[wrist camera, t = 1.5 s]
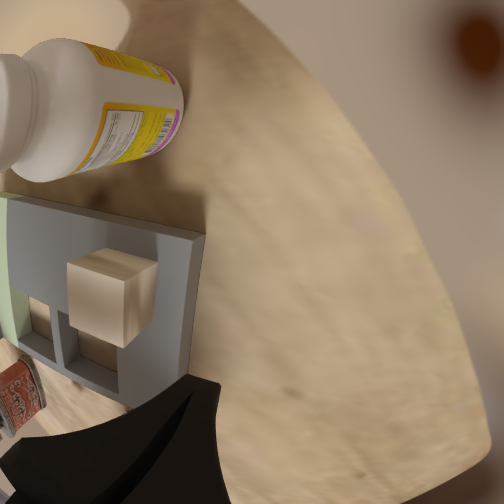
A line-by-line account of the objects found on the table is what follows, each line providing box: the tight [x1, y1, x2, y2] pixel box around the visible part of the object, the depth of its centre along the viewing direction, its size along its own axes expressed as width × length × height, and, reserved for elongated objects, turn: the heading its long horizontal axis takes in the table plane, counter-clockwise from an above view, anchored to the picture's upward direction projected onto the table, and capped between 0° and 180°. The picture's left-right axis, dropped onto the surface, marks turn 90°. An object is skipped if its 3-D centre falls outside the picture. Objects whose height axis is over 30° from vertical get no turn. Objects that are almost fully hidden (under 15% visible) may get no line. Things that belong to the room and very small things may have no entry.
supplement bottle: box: [0, 38, 184, 182], centre depth 12 cm, size 7×7×13 cm
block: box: [67, 248, 158, 348], centre depth 17 cm, size 4×4×4 cm
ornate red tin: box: [0, 356, 46, 441], centre depth 23 cm, size 8×3×10 cm, turn 171°
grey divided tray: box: [0, 192, 206, 409], centre depth 21 cm, size 15×22×4 cm
